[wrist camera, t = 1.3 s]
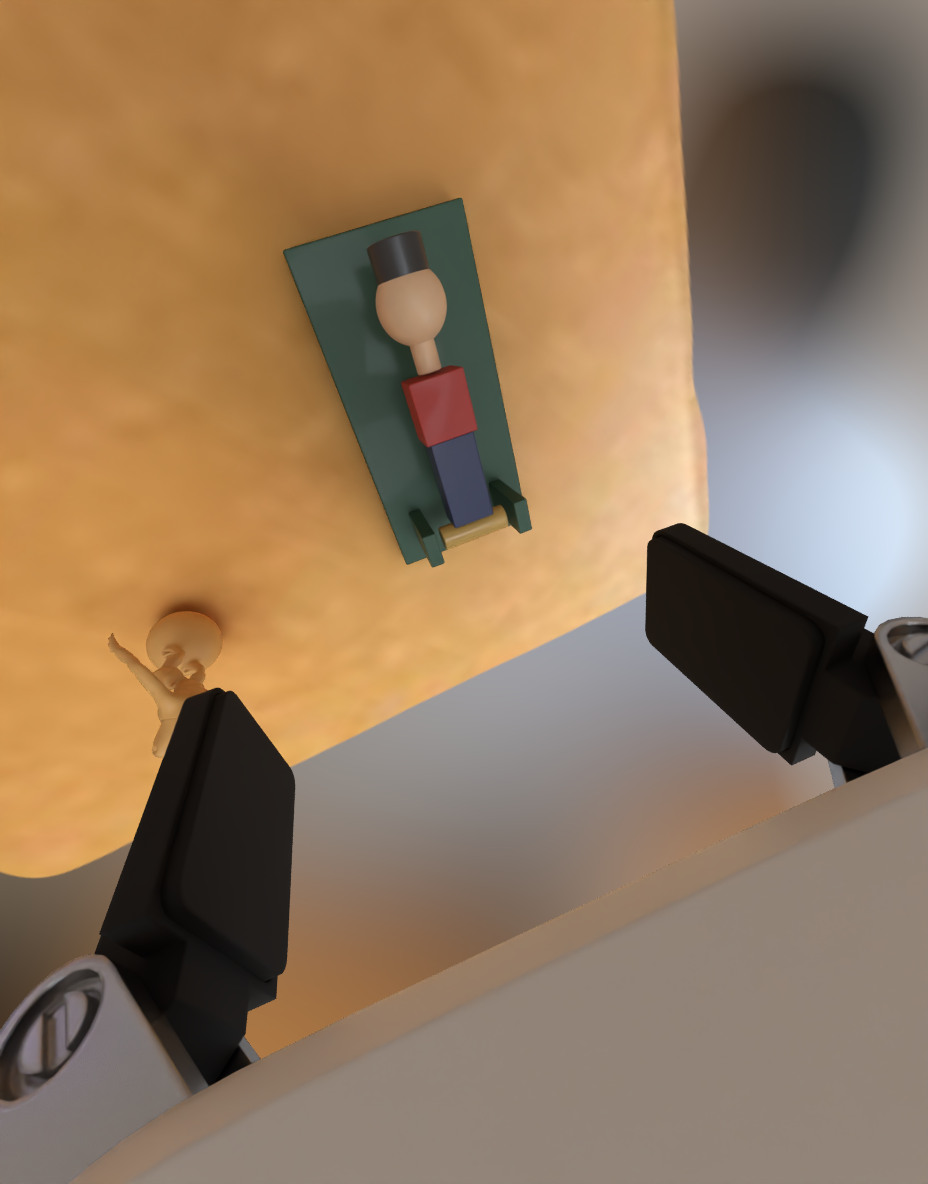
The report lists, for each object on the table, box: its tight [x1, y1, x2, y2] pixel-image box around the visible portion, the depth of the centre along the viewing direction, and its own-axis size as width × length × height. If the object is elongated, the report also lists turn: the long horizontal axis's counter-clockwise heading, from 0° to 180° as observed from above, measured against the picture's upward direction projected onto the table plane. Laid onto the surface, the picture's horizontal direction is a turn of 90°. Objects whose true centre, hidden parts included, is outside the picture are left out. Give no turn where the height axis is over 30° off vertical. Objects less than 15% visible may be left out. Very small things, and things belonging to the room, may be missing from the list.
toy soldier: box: [367, 230, 508, 550], centre depth 22 cm, size 14×4×3 cm, turn 15°
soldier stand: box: [283, 198, 532, 567], centre depth 24 cm, size 18×9×6 cm, turn 15°
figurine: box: [108, 611, 222, 758], centre depth 23 cm, size 8×6×12 cm
